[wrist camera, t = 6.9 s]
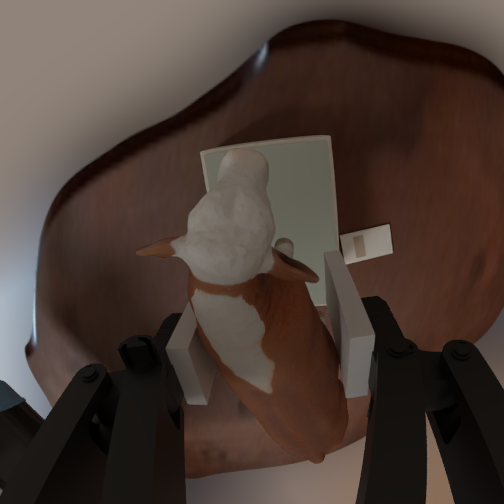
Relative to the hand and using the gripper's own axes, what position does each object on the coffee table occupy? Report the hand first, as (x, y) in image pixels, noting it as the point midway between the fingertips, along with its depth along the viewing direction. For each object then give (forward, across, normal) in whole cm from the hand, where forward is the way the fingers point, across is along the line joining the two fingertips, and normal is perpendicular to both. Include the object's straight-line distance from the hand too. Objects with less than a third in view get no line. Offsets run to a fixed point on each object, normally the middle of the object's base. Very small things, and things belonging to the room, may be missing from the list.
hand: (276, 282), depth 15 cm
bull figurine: (+1, 0, 0) cm, 1 cm away
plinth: (+14, 0, 0) cm, 14 cm away
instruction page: (+14, +8, -4) cm, 17 cm away
